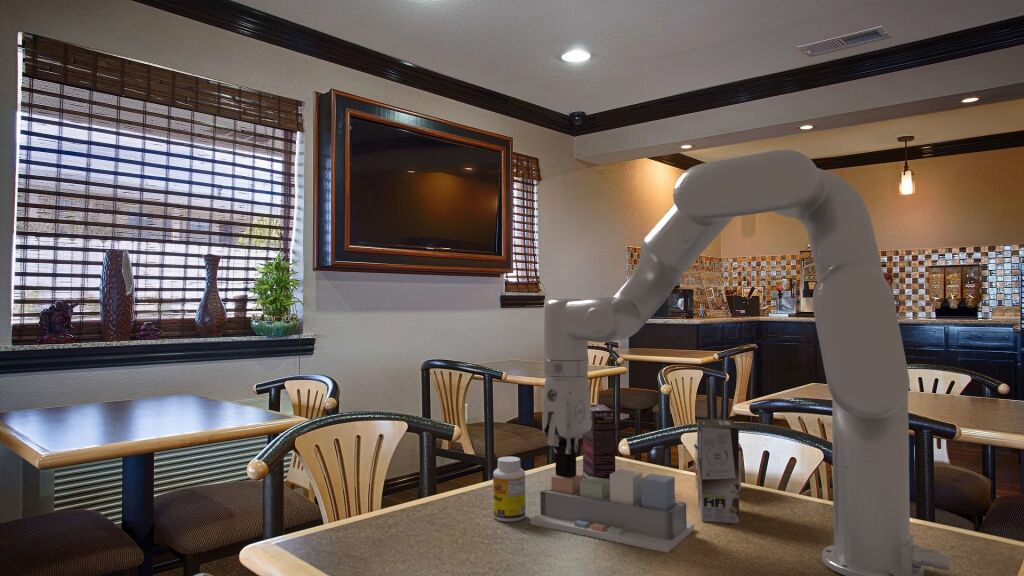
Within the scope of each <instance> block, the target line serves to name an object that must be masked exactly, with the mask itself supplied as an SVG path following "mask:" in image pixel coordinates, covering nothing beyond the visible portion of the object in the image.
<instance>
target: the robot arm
mask: <svg viewBox="0 0 1024 576" xmlns="http://www.w3.org/2000/svg"><path fill="white" fill-rule="evenodd" d="M672 192H673V193H672V197H673V198H672V199H673V204H672V205H671V206H670V207H669V209H668V210H667V211H666V212H665V213H664V215H663V216H662V217H661V218H660V219H659V221H658V222H657V223H656V224H655V225H654V226H653V227H652V228H651V230H650V231H649V232H648V233H647V234H646V235H645V237H643V239H642V242H641V244H640V256H639V260H638V264H637V266H636V267H635V270H634V272H633V273H632V274H631V276H630V277H629V279H627V281H626V282H625V283H624V284H623V286H622V287H620V289H619V290H618V291H617V292H616V294H615V295H613V296H603V297H594V298H587V299H581V298H565V297H564V298H551V299H548V300H547V301H546V302H545V305H544V313H543V314H544V321H543V322H544V326H543V329H544V335H543V336H544V337H543V338H544V339H543V340H544V342H543V343H544V344H543V346H544V349H543V350H544V359H543V361H544V370H543V371H544V373H543V374H544V379H545V381H544V387H543V398H542V410H541V411H542V412H541V413H542V414H541V415H542V416H541V417H542V418H541V419H542V421H541V422H542V424H541V425H542V433H543V435H544V436H545V437H547V442H546V443H547V446H550V447H553V451H554V453H555V475H557V476H564V477H570V478H571V477H573V476H575V475H576V474H577V452H578V449H579V448H578V447H579V440H580V439H581V438H583V434H585V433H587V432H589V431H590V429H591V427H592V418H591V405H592V402H591V401H592V400H591V390H590V383H589V377H588V374H589V372H588V371H589V369H588V367H589V366H588V365H589V361H588V359H589V358H588V356H589V355H588V353H589V348H588V346H589V345H588V344H589V342H592V343H593V342H595V343H611V342H615V341H621V340H627V339H629V338H630V337H633V336H634V335H635V334H636V333H637V332H639V330H641V328H642V327H643V326H645V324H647V322H648V321H649V320H650V319H651V318H652V317H653V315H655V313H656V312H657V311H658V310H659V309H660V308H661V306H663V304H664V303H665V302H666V300H667V298H669V296H670V294H671V293H672V292H673V290H674V289H675V287H676V286H677V285H678V284H679V282H680V280H681V278H682V277H683V275H684V273H686V271H687V270H688V269H689V268H690V266H692V264H693V263H695V261H696V260H697V259H698V258H699V257H700V255H701V254H702V253H703V252H704V251H705V250H706V249H707V248H708V247H709V245H711V244H712V242H713V241H714V240H715V239H716V238H717V237H718V236H719V235H720V234H721V232H723V230H724V229H725V228H726V227H727V226H728V224H729V223H730V222H731V221H732V220H733V219H734V218H735V217H742V216H749V215H757V214H764V213H775V214H776V215H779V216H782V217H786V218H791V219H792V218H793V219H796V220H798V221H799V222H800V223H802V225H803V226H804V228H805V229H806V232H807V236H808V241H809V242H808V243H809V248H810V252H811V255H812V261H813V266H814V273H815V276H816V277H815V279H816V283H815V287H814V290H813V293H812V308H813V310H812V311H813V315H814V321H815V326H816V331H817V338H818V341H819V347H820V351H821V352H820V353H821V358H822V363H823V369H824V374H825V378H826V384H827V388H828V390H829V393H830V395H831V397H832V401H831V402H832V411H831V412H832V417H831V418H832V422H831V423H832V496H833V497H832V499H833V500H832V502H833V503H832V504H833V507H832V508H833V510H832V511H833V513H832V514H833V517H832V518H833V544H831V545H829V546H826V547H824V548H823V549H822V551H821V557H822V558H821V559H822V562H823V564H825V566H826V567H827V568H829V569H831V570H832V571H834V572H836V573H838V574H840V575H843V576H925V568H924V566H925V567H930V568H933V569H935V570H936V569H937V570H943V571H948V572H950V555H947V554H943V553H940V550H938V549H932V548H925V547H920V545H919V544H915V535H912V534H911V522H910V521H911V520H910V518H911V517H910V516H911V515H910V514H911V512H910V462H909V461H910V437H909V436H910V435H909V434H910V433H909V432H910V431H909V428H910V427H909V398H908V397H909V392H910V386H911V385H910V383H911V381H910V374H909V369H908V364H907V360H906V359H907V358H906V353H905V350H904V344H903V339H902V333H901V328H900V324H899V319H898V314H897V309H896V303H895V299H894V295H893V292H892V288H891V286H890V284H889V282H888V280H886V278H885V274H884V271H883V266H882V262H881V257H880V251H879V247H878V244H877V240H876V236H875V232H874V231H875V230H874V227H873V223H872V219H871V217H870V212H869V210H868V207H867V205H866V203H865V201H864V199H863V197H862V196H861V194H860V193H859V192H858V191H857V189H856V188H855V187H853V185H852V184H850V183H849V182H848V181H847V180H845V179H844V178H842V177H841V176H839V175H838V174H835V173H833V172H830V171H829V170H824V169H822V168H818V167H817V166H816V164H815V162H814V161H813V160H812V159H811V158H810V157H809V156H807V155H806V154H804V153H802V152H800V151H796V150H792V149H775V150H769V151H764V152H763V151H762V152H758V153H757V152H756V153H753V154H747V155H741V156H738V157H731V158H725V159H719V160H713V161H709V162H705V163H704V162H703V163H700V164H697V165H694V166H691V167H690V168H687V169H686V170H685V171H684V172H682V173H681V175H680V176H679V177H678V179H677V180H676V182H675V184H674V187H673V191H672Z"/></svg>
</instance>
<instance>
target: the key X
mask: <svg viewBox="0 0 1024 576" xmlns="http://www.w3.org/2000/svg"><path fill="white" fill-rule="evenodd" d="M642 478H643V471H636V470H631V469H630V470H629V469H622V468H619V469H617V470H615V472H613V473H611V474H610V501H611V502H616V503H622V504H628V505H636V504H637V503H639V502H641V501H642V486H641V479H642Z"/></svg>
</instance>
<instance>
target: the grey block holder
mask: <svg viewBox="0 0 1024 576" xmlns="http://www.w3.org/2000/svg"><path fill="white" fill-rule="evenodd" d="M539 493H540V494H539V495H540V496H539V497H540V503H539V505H540V512H539V514H537V515H535V516H533V517H531V518H530V525H532V526H536V527H542V528H546V529H551V530H555V531H561V532H565V533H571V534H574V533H575V534H576V535H579V534H580V536H584V535H585V537H589V536H591V537H590V538H594V537H595V539H599V538H601V539H600V540H603V539H605V540H604V541H608V542H609V541H610V542H613V541H614V543H619V544H623V545H624V544H625V545H628V546H633V547H637V548H642V549H647V550H652V551H657V552H661V553H666V554H668V553H670V551H672V550H673V549H674V548H675V547H676V546H678V545H679V544H680V543H681V542H682V541H683V540H684V539H686V538H687V537H688V536H689V535H690V534H691V533H692V532H693V531H695V523H691V522H687V502H684V501H679V500H678V501H677V500H675V506H674V507H673V508H671V509H670V510H669V511H663V510H657V509H651V508H645V507H642V501H641V502H639V503H637V504H636V505H628V504H622V503H616V502H611V501H610V496H609V497H607V498H606V499H604V500H599V499H593V498H588V497H582V496H580V492H578V493H576V494H574V495H570V494H564V493H559V492H553V491H552V485H550V486H548V487H546V488H545V489H542V490H540V491H539Z"/></svg>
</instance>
